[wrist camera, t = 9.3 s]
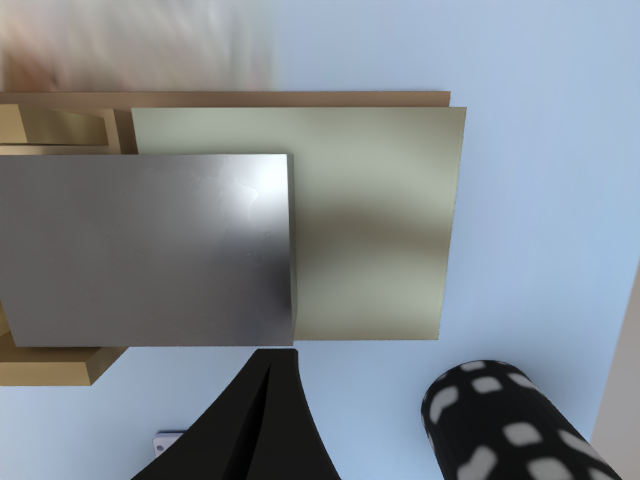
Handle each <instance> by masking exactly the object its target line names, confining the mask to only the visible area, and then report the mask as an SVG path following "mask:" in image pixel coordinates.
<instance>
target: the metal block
mask: <svg viewBox="0 0 640 480" xmlns="http://www.w3.org/2000/svg"><path fill="white" fill-rule="evenodd" d="M0 300H1V303H2V306H3V309H4V312H5V315H6V318H7V321H8V324H9V327H10V330H11V333H12V336H13V339H14V342H15V345H16V347H145V346H293V341H294V333H295V326H296V319H297V312H298V307H297V268H296V229H295V191H294V154H124V155H0Z"/></svg>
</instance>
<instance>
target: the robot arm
mask: <svg viewBox="0 0 640 480" xmlns="http://www.w3.org/2000/svg"><path fill="white" fill-rule="evenodd" d="M153 446H154V451H155V456H156V459H155V460H154V461H152V462H151V463H150V464H149V465H148V466H147V467H145V468H144V469H143V470H142V471H140V472H139V473H138V474H137V475H136V476H134V477H133V478H132V479H131V480H341V478H340V477H339V475H338V473H337V471H336V469H335V467H334V465H333V463H332V461H331V459H330V457H329V455H328V453H327V451H326V449H325V447H324V444H323V442H322V440H321V438H320V435H319V433H318V431H317V428H316V426H315V423H314V421H313V418H312V415H311V412H310V410H309V407H308V404H307V401H306V398H305V394H304V391H303V387H302V383H301V379H300V374H299V368H298V351H297V350H296V349H257V350H256V351H255V352H254V353H253V355H252V356H251V357H250V359H249V360H248V361H247V363H246V364H245V365H244V367H243V368H242V369H241V370H240V372H239V373H238V374H237V375H236V377H235V378H234V379H233V380H232V382H231V383H230V384H229V385H228V386H227V387H226V389H225V390H224V391H223V392H222V393H221V395H220V396H219V397H218V398H217V399H216V400H215V401H214V402H213V403H212V405H211V406H210V407H209V408H208V409H207V410H206V411H205V412H204V413H203V414H202V415H201V416H200V417H199V418H198V420H197V421H196V422H195V423H194V424H193V425H192V426H191V427H190V428H189V429H188V430H187V431H186V432H184V433H160V434H157V435H156V436H155V437H154V439H153Z"/></svg>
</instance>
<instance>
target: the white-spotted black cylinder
mask: <svg viewBox="0 0 640 480" xmlns="http://www.w3.org/2000/svg"><path fill="white" fill-rule="evenodd" d="M421 416H422V422H423V425H424V427H425V430H426V433H427V435H428V438H429V441H430V443H431V446H432V448H433V451H434V454H435V456H436V459H437V461H438V464H439V467H440V469H441V472H442V475H443V477H444V480H622V479H621V478H620V477H619V476H618V474H617V473H616V472H615V471H614V470H613V469H612V468H611V467H610V466H609V465H608V464H607V463H606V462H605V460H604V459H603V458H602V457H601V456H600V455H599V454H598V453H597V452H596V451H595V450H594V449H593V447H592V446H591V445H590V444H589V443H588V442H587V441H586V440H585V439H584V438H583V437H582V436H581V434H580V433H579V432H578V431H577V430H576V429H575V428H574V427H573V426H572V425H571V424H570V423H569V422H568V420H567V419H566V418H565V417H564V416H563V415H562V414H561V413H560V412H559V411H558V410H557V409H556V408H555V406H554V405H553V404H552V403H551V402H550V401H549V400H548V399H547V398H546V397H545V396H544V395H543V394H542V392H541V391H540V390H539V389H538V388H537V387H536V386H535V385H534V384H533V383H532V382H531V381H530V380H529V378H528V377H527V376H526V375H525V374H524V373H523V372H521V371H520V370H519V369H517V368H516V367H514V366H511V365H509V364H506V363H503V362H498V361H483V360H482V361H475V362H470V363H466V364H463V365H460V366H458V367H456V368H453V369H451V370H449V371H448V372H446V373H445V374H444V375H442V376H441V377H439V378H438V379H437V380H436V381H435V382H434V383H433V384H432V386H431V387H430V389H429V390H428V392H427V393H426V395H425V398H424V400H423V403H422V409H421Z"/></svg>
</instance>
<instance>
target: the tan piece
mask: <svg viewBox="0 0 640 480" xmlns="http://www.w3.org/2000/svg"><path fill="white" fill-rule="evenodd" d="M450 92H451V91H397V92H0V155H124V154H294V191H295V229H296V268H297V307H298V312H297V319H296V326H295V333H294V340H438V335H439V327H440V319H441V311H442V303H443V295H444V287H445V279H446V271H447V263H448V255H449V247H450V238H451V230H452V222H453V214H454V206H455V198H456V190H457V182H458V174H459V166H460V158H461V150H462V141H463V133H464V125H465V117H466V109H467V107H449V102H450ZM127 349H128V347H16V345H15V342H14V339H13V336H12V333H11V330H10V327H9V324H8V321H7V318H6V315H5V312H4V309H3V306H2V303H1V300H0V386H91V385H92V384H93V383H94V382H95V381H96V380H97V379H98V378H99V377H100V376H101V375H102V374H103V373H104V372H105V371H106V370H107V369H108V368H109V367H110V366H111V365H112V364H113V363H114V362H115V361H116V360H117V359H118V358H119V357H120V356H121V355H122V354H123V353H124V352H125V351H126V350H127Z"/></svg>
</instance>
